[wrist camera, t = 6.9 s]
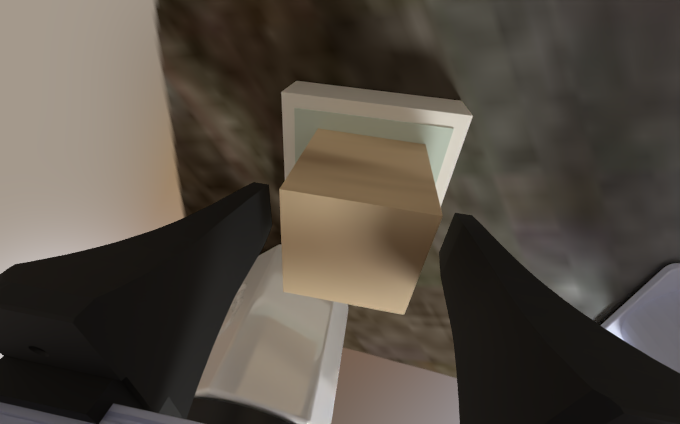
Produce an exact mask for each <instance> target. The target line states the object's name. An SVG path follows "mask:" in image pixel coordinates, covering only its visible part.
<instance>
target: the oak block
mask: <svg viewBox="0 0 680 424" xmlns="http://www.w3.org/2000/svg"><path fill="white" fill-rule="evenodd" d="M279 191H280V219H281V246H282V273H283V292H287V293H292V294H297V295H303V296H308V297H313V298H318V299H324V300H329V301H334V302H339V303H345V304H350V305H355V306H360V307H366V308H371V309H376V310H381V311H387V312H392V313H397V314H402V315H404V314H405V311H406V309H407V306H408V304H409V301H410V298H411V296H412V293H413V291H414V288H415V286H416V283H417V281H418V278H419V275H420V273H421V270H422V268H423V265H424V263H425V260H426V257H427V255H428V252H429V250H430V247H431V245H432V242H433V240H434V237H435V234H436V232H437V229H438V227H439V224H440V222H441V219H442V217H443V215H442V211H441V207H440V203H439V199H438V194H437V190H436V186H435V182H434V178H433V173H432V169H431V165H430V161H429V157H428V152H427V148H426V144H420V143H413V142H406V141H400V140H393V139H386V138H380V137H373V136H366V135H360V134H353V133H346V132H340V131H333V130H326V129H319V128H318V129H317V131H316V132H315V134H314V135H313V137H312V138H311V140H310V142H309V143H308V145H307V146H306V148H305V149H304V151H303V153H302V154H301V156H300V157H299V159H298V161H297V162H296V164H295V165H294V167H293V168H292V170H291V172H290V173H289V175H288V176H287V178H286V179H285V181H284V183H283V184H282V186H281V187H280V189H279Z"/></svg>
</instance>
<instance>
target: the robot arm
mask: <svg viewBox="0 0 680 424" xmlns="http://www.w3.org/2000/svg"><path fill="white" fill-rule="evenodd" d="M271 227H272V219H271V206H270V194H269V185H267V184H261V183H252V184H249V185H247V186H245V187H244V188H242V189H240V190H238V191H236V192H234V193H232V194H231V195H229V196H227V197H225V198H223V199H221V200H219V201H218V202H216V203H214V204H212V205H210V206H208V207H206V208H204V209H202V210H200V211H198V212H196V213H194V214H192V215H189V216H187V217H185V218H183V219H181V220H178V221H176V222H174V223H171V224H168V225H166V226H163V227H161V228H158V229H156V230H153V231H150V232H147V233H144V234H141V235H138V236H134V237H131V238H128V239H125V240H122V241H119V242H116V243H111V244H108V245H104V246H100V247H96V248H92V249H88V250H85V251H80V252H76V253H72V254H67V255H62V256H57V257H52V258H47V259H42V260H36V261H31V262H27V263H20V264H15V265H13V266H12V267H10V268H9V269H7V270H6V271H4V272H3V273H1V274H0V353H1V354H2V355H4V356H3V357H2V358H1V359H0V424H204V423H200V422H195V421H191V420H186V419H187V416H188V413H189V410H190V407H191V405H192V402H193V399H194V396H195V393H196V391H197V388H198V385H199V382H200V379H201V377H202V374H203V371H204V369H205V366H206V364H207V361H208V359H209V356H210V353H211V351H212V348H213V346H214V343H215V341H216V339H217V336H218V334H219V331H220V329H221V327H222V324H223V322H224V320H225V317H226V315H227V313H228V311H229V308H230V306H231V304H232V302H233V300H234V298H235V296H236V294H237V292H238V290H239V288H240V287H241V285H242V283H243V281H244V280H245V278H246V276H247V275H248V273H249V271H250V269H251V268H252V266H253V264H254V262H255V261H256V259H257V257H258V255H259V254H260V252H261V250H262V248H263V247H264V244H265V242H266V240H267V237H268V235H269V232H270V229H271ZM439 257H440V273H441V280H442V285H443V290H444V295H445V300H446V305H447V309H448V314H449V319H450V324H451V328H452V334H453V340H454V349H455V360H456V370H457V383H458V396H459V414H460V424H680V263H673V264H670V265H667V266H665V267H664V268H663V269H662V270H661V271H660V272H658V273H657V274H656V275H655V276H654V277H653V278H652V279H651V280H650V281H649V282H648V283H646V284H645V285H644V286H643V287H642V288H641V289H640V290H639V291H638V292H637V293H635V294H634V295H633V296H632V297H631V298H630V299H629V300H628V301H627V302H626V303H624V304H623V305H622V306H621V307H620V308H619V309H618V310H617V311H616V312H615V313H614V314H612V315H611V316H610V317H609V318H608V319H607V320H606V321H605V322H604V323H603V324H601V325H599V324H597V323H596V322H594V321H593V320H592V319H590V318H589V317H587V316H586V315H584V314H583V313H581V312H580V311H578V310H577V309H576V308H574V307H573V306H572V305H570V304H569V303H567V302H566V301H565V300H563V299H562V298H561V297H560V296H558V295H557V294H556V293H555V292H553V291H552V290H551V289H549V288H548V287H547V286H546V285H544V284H543V283H542V282H541V281H540V280H538V279H537V278H536V277H535V276H534V275H533V274H532V273H530V272H529V271H528V270H527V269H526V268H525V267H524V266H523V265H522V264H520V263H519V262H518V261H517V260H516V259H515V258H514V257H513V256H512V255H511V254H510V253H509V252H508V251H507V250H506V249H505V248H504V247H503V246H502V245H501V244H500V243H499V242H498V241H497V240H496V239H495V238H494V237H493V236H492V235H491V234H490V233H489V232H488V231H487V230H486V229H485V228H484V227H483V226H482V225H481V224H480V223H479V222H478V221H477V220H476V219H475V218H474V217H473V216H472V215H466V214H459V213H455V214H454V217H453V219H452V222H451V224H450V227H449V229H448V232H447V234H446V237H445V239H444V242H443V244H442V247H441V250H440V252H439Z"/></svg>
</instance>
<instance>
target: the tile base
mask: <svg viewBox="0 0 680 424" xmlns="http://www.w3.org/2000/svg"><path fill="white" fill-rule="evenodd" d="M281 97H282V122H283V147H284V172H285V179H286V178H287V176H288V175H289V173H290V172H291V170H292V168H293V167H294V165H295V164H296V162H297V161H298V159H299V157H300V156H301V154H302V153H303V151H304V149H305V148H306V146H307V145H308V143H309V142H310V140H311V138H312V137H313V135H314V134H315V132H316V131H317V129H318V128H319V129H326V130H333V131H340V132H346V133H353V134H360V135H366V136H373V137H380V138H386V139H393V140H400V141H406V142H413V143H420V144H426V148H427V152H428V157H429V161H430V165H431V169H432V173H433V178H434V182H435V186H436V190H437V194H438V199H439V203H440V207H441V204H442V201H443V198H444V196H445V193H446V190H447V187H448V184H449V181H450V179H451V176H452V173H453V170H454V167H455V165H456V162H457V159H458V156H459V153H460V150H461V148H462V145H463V142H464V139H465V136H466V134H467V131H468V128H469V125H470V122H471V120H472V117H473V115H472V114H471V113H470V111H469V110H468V109H467V107H466V106H465V105H464V103H463V102H462V101H459V100H451V99H443V98H434V97H426V96H418V95H410V94H402V93H393V92H385V91H377V90H369V89H360V88H352V87H344V86H336V85H328V84H319V83H311V82H303V81H295V82H294V83H293V84H291V85H290V86H289V87H287V88H286V89H284V90H283V91H282V92H281Z"/></svg>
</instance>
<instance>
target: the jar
mask: <svg viewBox="0 0 680 424" xmlns="http://www.w3.org/2000/svg"><path fill="white" fill-rule="evenodd" d="M347 315H348V304H345V303H339V302H334V301H329V300H324V299H318V298H313V297H308V296H303V295H297V294H292V293H287V292H283V273H282V246H281V244H279V245H277V246H275V247H273V248H272V249H270V250H268V251H266V252H264V253H263V254H261V255H259V256H258V257H257V259H256V261H255V262H254V264H253V266H252V268H251V269H250V271H249V273H248V275H247V276H246V278H245V280H244V281H243V283H242V285H241V287H240V288H239V290H238V292H237V294H236V296H235V298H234V300H233V302H232V304H231V306H230V308H229V311H228V313H227V315H226V317H225V320H224V322H223V324H222V327H221V329H220V331H219V334H218V336H217V339H216V341H215V343H214V346H213V348H212V351H211V353H210V356H209V359H208V361H207V364H206V366H205V369H204V371H203V374H202V377H201V379H200V382H199V385H198V388H197V391H196V393H195V396H194V399H193V402H192V405H191V407H190V410H189V413H188V416H187V419H186V420H191V421H195V422H200V423H204V424H331V421H332V415H333V407H334V401H335V395H336V387H337V381H338V375H339V368H340V361H341V355H342V348H343V342H344V335H345V328H346V322H347Z"/></svg>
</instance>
